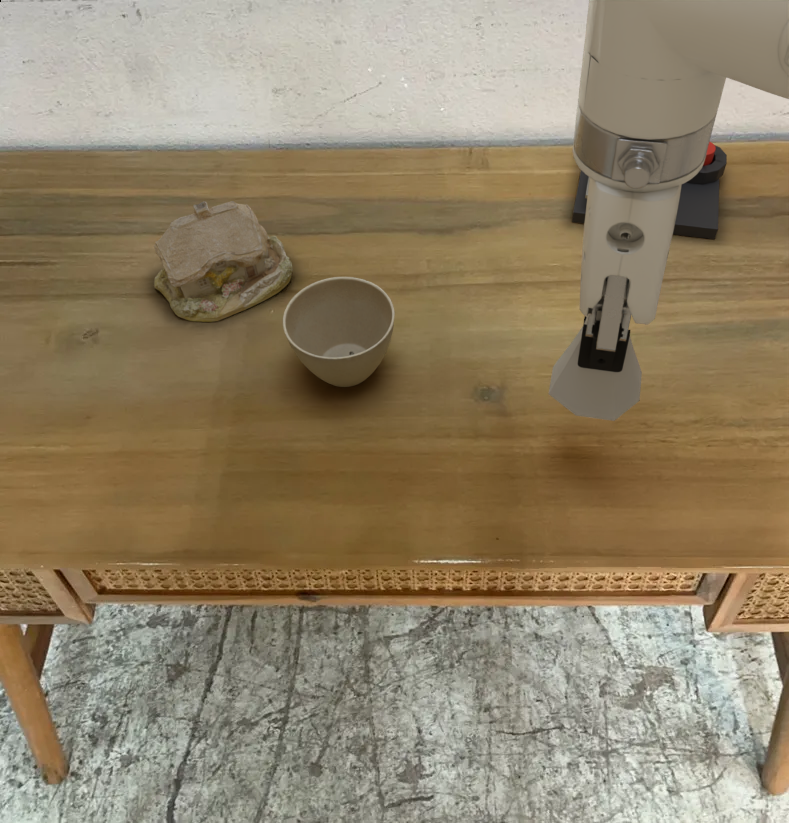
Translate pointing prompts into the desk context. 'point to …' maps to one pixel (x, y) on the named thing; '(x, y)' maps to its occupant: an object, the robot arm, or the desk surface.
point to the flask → (595, 384)
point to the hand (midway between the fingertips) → (602, 345)
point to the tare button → (709, 154)
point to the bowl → (340, 328)
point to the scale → (682, 200)
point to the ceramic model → (219, 262)
